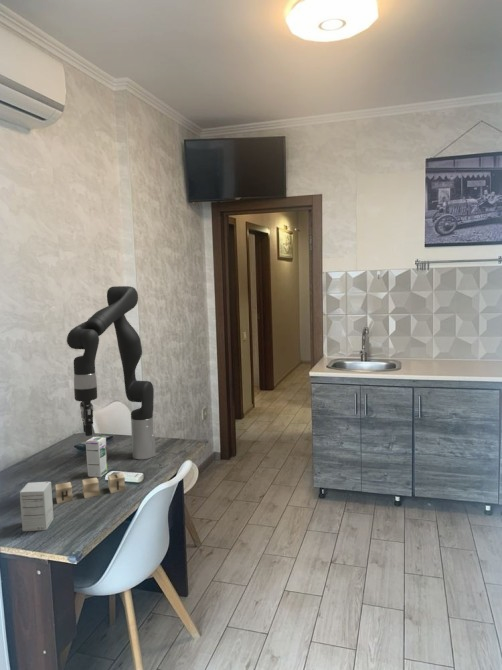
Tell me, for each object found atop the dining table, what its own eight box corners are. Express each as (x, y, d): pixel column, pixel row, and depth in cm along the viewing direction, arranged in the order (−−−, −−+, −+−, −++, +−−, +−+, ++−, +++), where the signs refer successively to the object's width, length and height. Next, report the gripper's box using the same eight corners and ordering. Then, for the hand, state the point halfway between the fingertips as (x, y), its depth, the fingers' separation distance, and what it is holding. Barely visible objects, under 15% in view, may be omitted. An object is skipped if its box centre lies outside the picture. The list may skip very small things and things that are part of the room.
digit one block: (122, 485, 181) (121, 472, 180) (125, 490, 176) (124, 477, 176) (108, 488, 179) (107, 474, 178) (111, 493, 174) (110, 479, 174)
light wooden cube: (71, 495, 173) (70, 481, 173) (72, 501, 169) (71, 487, 168) (56, 498, 171) (55, 484, 170) (57, 504, 166) (56, 490, 166)
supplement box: (30, 520, 155) (27, 482, 154) (54, 518, 156) (51, 480, 154) (21, 531, 148) (18, 491, 146) (46, 530, 148) (44, 490, 147)
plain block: (97, 490, 177) (96, 477, 177) (99, 495, 173) (98, 482, 172) (82, 493, 175) (82, 479, 174) (84, 498, 170) (83, 484, 170)
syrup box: (101, 477, 189) (99, 441, 187) (87, 476, 190) (85, 440, 188) (108, 472, 194) (106, 436, 193) (94, 471, 195) (92, 436, 194)
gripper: (99, 388, 165) (102, 437, 167) (93, 381, 178) (95, 427, 179) (76, 391, 162) (79, 441, 163) (71, 383, 174) (74, 429, 176)
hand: (87, 433), depth 171 cm, fingers open, 4 cm apart
